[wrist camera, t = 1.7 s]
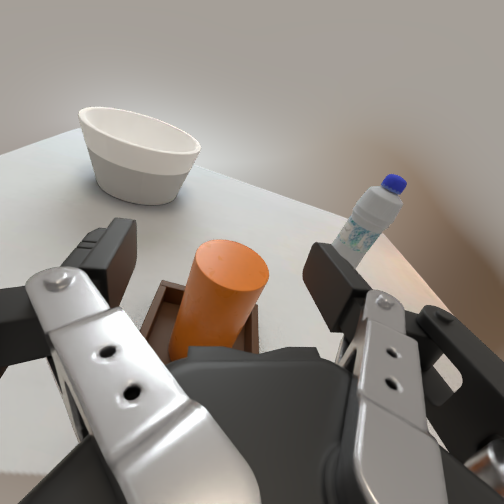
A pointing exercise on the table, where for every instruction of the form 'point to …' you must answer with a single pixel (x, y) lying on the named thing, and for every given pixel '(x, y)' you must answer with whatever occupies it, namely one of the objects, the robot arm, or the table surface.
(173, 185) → the bowl
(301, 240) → the table surface
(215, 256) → the orange cylinder
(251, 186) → the table surface
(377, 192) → the bottle
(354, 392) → the robot arm
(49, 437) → the table surface
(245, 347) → the tray
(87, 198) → the table surface
